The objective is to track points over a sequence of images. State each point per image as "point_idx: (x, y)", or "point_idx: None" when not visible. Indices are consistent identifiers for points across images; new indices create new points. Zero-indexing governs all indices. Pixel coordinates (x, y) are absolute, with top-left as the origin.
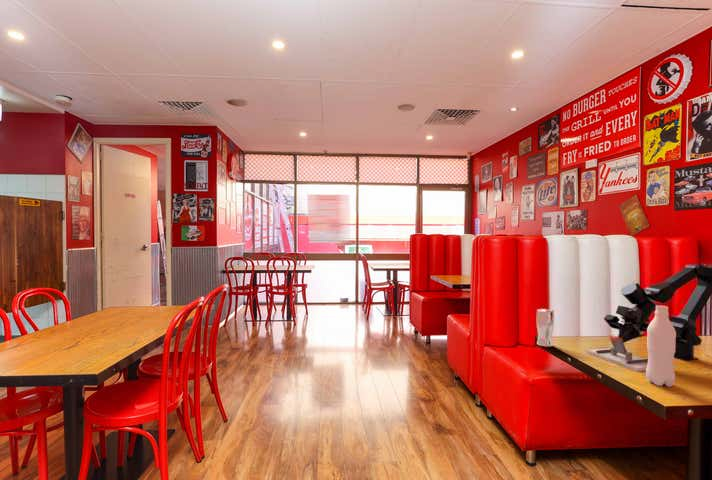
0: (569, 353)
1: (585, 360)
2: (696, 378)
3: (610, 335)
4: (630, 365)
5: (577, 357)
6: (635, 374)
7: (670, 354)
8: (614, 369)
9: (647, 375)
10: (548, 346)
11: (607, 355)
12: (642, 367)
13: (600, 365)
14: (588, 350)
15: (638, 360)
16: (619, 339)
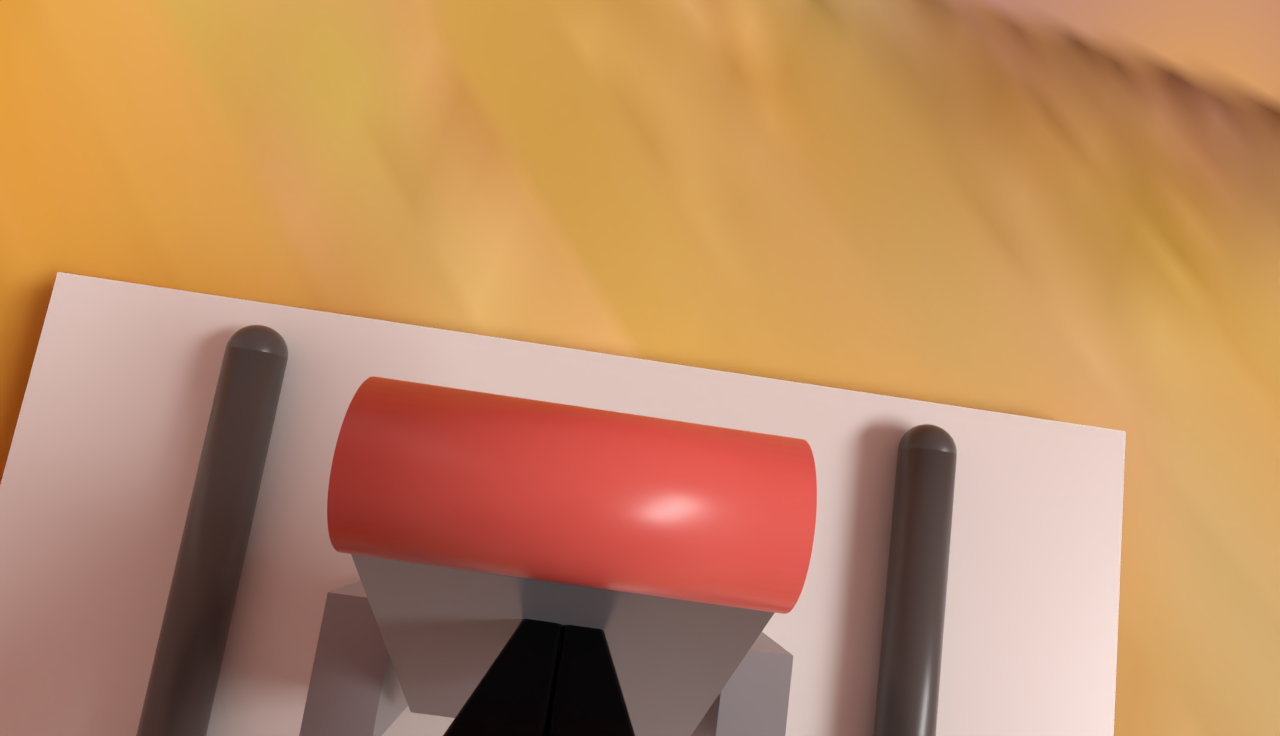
0: (1148, 108)
1: (793, 16)
2: None
3: (808, 491)
4: (184, 296)
5: (947, 37)
6: (33, 114)
7: None
8: (324, 32)
9: None
10: None
11: None
12: (20, 414)
13: (537, 9)
14: (1091, 436)
15: (164, 634)
16: (367, 381)
